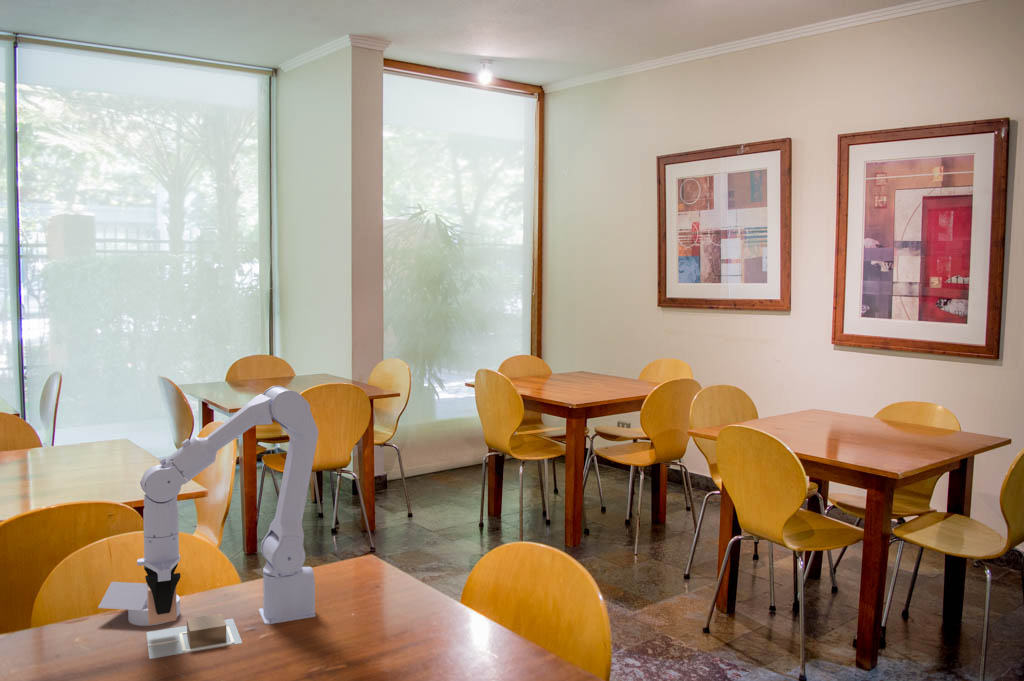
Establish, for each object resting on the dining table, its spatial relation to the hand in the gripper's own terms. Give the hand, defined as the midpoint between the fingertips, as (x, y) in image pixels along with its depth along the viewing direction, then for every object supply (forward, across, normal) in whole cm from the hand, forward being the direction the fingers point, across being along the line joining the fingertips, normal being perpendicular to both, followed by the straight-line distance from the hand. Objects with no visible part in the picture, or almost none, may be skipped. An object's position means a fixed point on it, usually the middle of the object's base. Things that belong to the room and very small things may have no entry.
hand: (162, 608), depth 145 cm
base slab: (+5, +4, +7) cm, 10 cm away
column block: (+2, 0, 0) cm, 2 cm away
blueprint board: (+6, +3, +5) cm, 8 cm away
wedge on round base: (+6, -12, -3) cm, 13 cm away
